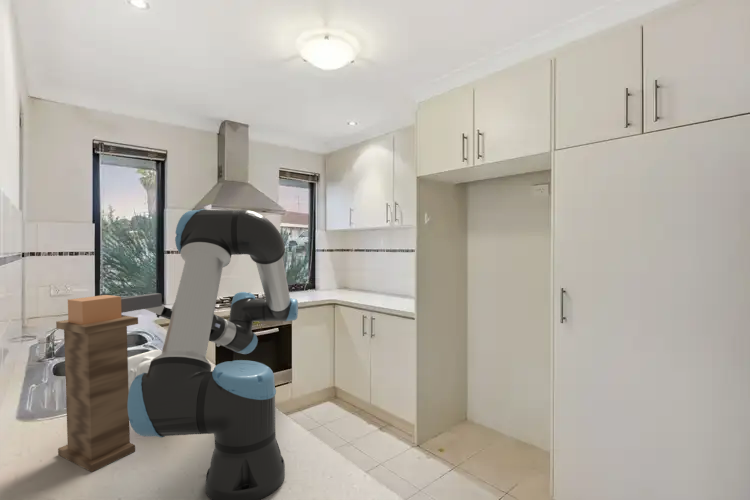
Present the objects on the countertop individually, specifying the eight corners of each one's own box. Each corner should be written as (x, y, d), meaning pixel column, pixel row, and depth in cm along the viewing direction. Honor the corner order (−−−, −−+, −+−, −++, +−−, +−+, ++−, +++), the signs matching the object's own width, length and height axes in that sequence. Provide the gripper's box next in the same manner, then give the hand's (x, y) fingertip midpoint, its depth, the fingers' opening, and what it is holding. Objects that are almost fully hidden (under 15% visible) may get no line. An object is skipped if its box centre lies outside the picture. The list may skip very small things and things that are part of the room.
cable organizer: (163, 380, 135) (162, 347, 134) (184, 385, 130) (184, 350, 130) (119, 397, 121) (118, 359, 121) (141, 402, 117) (140, 364, 116)
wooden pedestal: (143, 447, 92) (140, 317, 91) (91, 472, 82) (87, 327, 81) (110, 433, 98) (106, 312, 97) (58, 454, 89) (54, 321, 88)
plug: (166, 310, 101) (165, 290, 101) (82, 324, 84) (82, 301, 84) (151, 308, 103) (151, 289, 103) (68, 322, 87) (67, 299, 87)
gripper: (241, 347, 111) (181, 322, 95) (184, 337, 123) (122, 313, 107) (251, 321, 114) (195, 293, 98) (194, 314, 126) (136, 287, 110)
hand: (157, 303), depth 102 cm, fingers open, 13 cm apart
